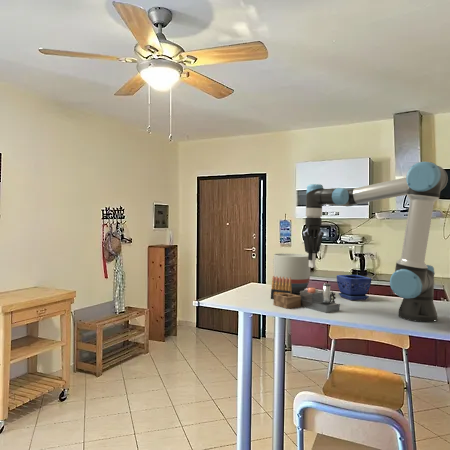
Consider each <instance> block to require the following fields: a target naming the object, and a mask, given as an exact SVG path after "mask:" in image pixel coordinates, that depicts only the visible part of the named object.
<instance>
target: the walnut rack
mask: <svg viewBox="0 0 450 450" xmlns="http://www.w3.org/2000/svg"><path fill="white" fill-rule="evenodd" d="M272 305H273V306H275V307H280V308H282V309H283V308H284V309H287V310H288V309H293V308H300V307H301V296H300V295H298V294H290V293H283V294H274V299H273V303H272Z"/></svg>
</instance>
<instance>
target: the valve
mask: <svg viewBox="0 0 450 450" xmlns="http://www.w3.org/2000/svg"><path fill="white" fill-rule="evenodd" d="M316 291H319V289H317V288H316ZM335 295H336V292H334V291H330V302H332V303H336V301H335V299H336V298H337V297H336V296H335Z"/></svg>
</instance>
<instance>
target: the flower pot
mask: <svg viewBox="0 0 450 450" xmlns="http://www.w3.org/2000/svg"><path fill="white" fill-rule="evenodd" d="M336 283H337V288H338V290H339V291H340V292H338V296H340V297H341V298H343V299H346V300H350V301H366V300H367V299H368V298H369V297H370V296H369V295H367V294H368V292H369V290H370V288H371V284H372V278H371V277H367V276H363V275H359V274H337V275H336Z"/></svg>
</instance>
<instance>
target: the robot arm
mask: <svg viewBox="0 0 450 450" xmlns="http://www.w3.org/2000/svg"><path fill="white" fill-rule="evenodd" d="M448 178H449V177H448V173H447V172H446V170H445V169H444V168H443V167H442V166H440V165H437V164H436V163H434V162H431V161H420V162H419V161H418V162H416V163H414V164H413V165H412V166H410V168H409V169H408V170H407V172H406V176H405V177H401V178H396V179H391V180H389V181H388V180H387V181H383V182H378V183H373V184H368V185H364V186H359V187H354V188H350V189H347V188H344V187H334V188H333V187H331V188H324V186H323V184H320V183H318V184H316V183H315V184H314V183H312V184H311V183H310V184H308V185H307V187H306V193H305V195H306V196H305V197H306V199H305V203H306V204H305V218H304V219H305V226H306V228H305V231H302V232H301V234H302V237H303V244H304V245H303V246H304V250H305V252H306V253H307V255H308V260H309V267H310V268H316V260H317V254H319V253H320V251H321V247H322V241H323V237H324V234H325V232H324V231H322V230H321V226H322V221H323V220H322V216H323V205H326V206H327V205H328V206H343V207H352V206H354V205H355V206H356V205H358V204H365V203H369V202H370V203H371V202H375V201H376V202H377V201H380V200H386V199H391V198H396V197H402V196H407V197H408V198H409V207H408V212H407V218H406V219H407V220H406V226H405V232H404V237H403V244H402V251H401V257H400V259H398V260H396V262H395V267H394V272H393V273H392V274H391V276H390V278H389V286H390V289H391V290H392V292H393V293H394V295H396V296H398V297H400V298H402V300H401V303H400V306H399V308H398V312H397V314H398V317H399V318H401V319H404V318H405V319H404V320H407V319H409V320H408V321H413V320H416V321H415V322H420V321H434V320H437V321H438V312H437V310H436V309H437V308H436V306H435V303H434V302H435V301H434V291H435V288H434V285H435V284H434V283H435V273H436V272H435V268H434V266H433V265H431V264H426V263H425V261H426V255H427V250H428V249H427V248H428V241H429V236H430V228H431V225H432V218H433V217H432V216H433V212H434V206H435V205H434V204H435V202H436V201H438V200H439V199H440V196H441V191H442V190H443V189H445V187H446V186H447V183H448V181H449V179H448ZM434 322H435V321H434Z"/></svg>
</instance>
